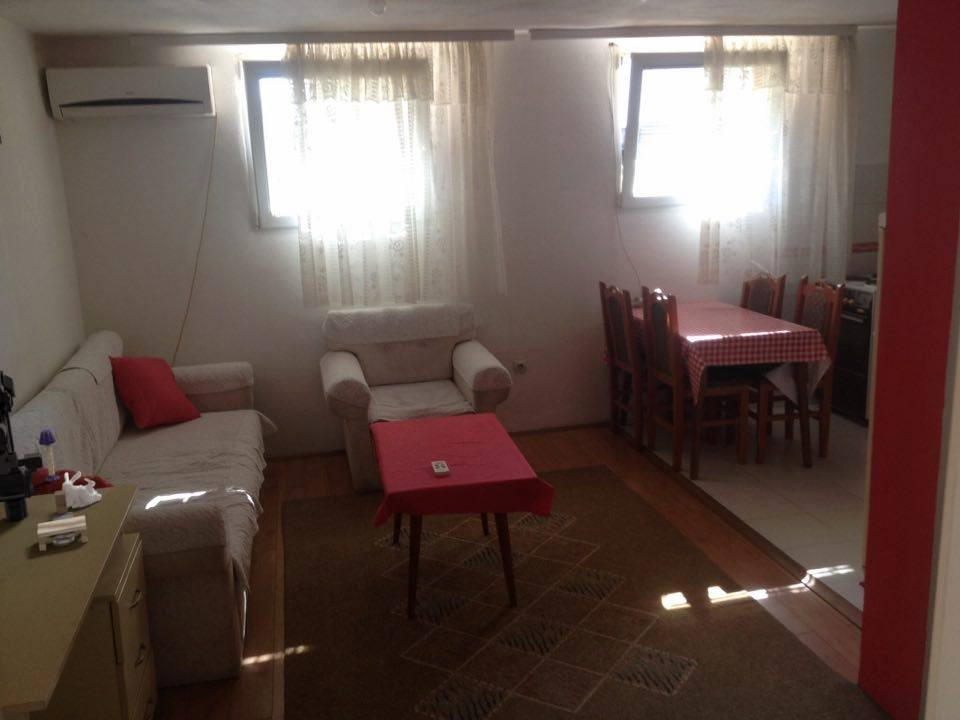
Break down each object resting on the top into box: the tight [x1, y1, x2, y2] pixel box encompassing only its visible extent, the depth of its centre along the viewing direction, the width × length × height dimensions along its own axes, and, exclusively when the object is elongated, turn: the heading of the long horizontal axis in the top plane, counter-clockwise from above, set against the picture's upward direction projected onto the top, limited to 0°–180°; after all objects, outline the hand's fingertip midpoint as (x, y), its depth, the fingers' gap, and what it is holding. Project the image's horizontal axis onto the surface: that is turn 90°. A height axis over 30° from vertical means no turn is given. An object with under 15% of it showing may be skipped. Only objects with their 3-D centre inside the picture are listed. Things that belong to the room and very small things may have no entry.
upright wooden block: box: [51, 489, 76, 537], centre depth 227 cm, size 16×5×7 cm, turn 27°
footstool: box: [37, 514, 89, 552], centre depth 215 cm, size 8×11×4 cm
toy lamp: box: [38, 429, 60, 483], centre depth 263 cm, size 5×5×17 cm
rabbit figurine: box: [61, 470, 102, 509], centre depth 241 cm, size 12×8×10 cm, turn 117°
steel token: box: [52, 532, 76, 547], centre depth 215 cm, size 5×5×2 cm
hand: (5, 499), depth 206 cm, fingers open, 9 cm apart
